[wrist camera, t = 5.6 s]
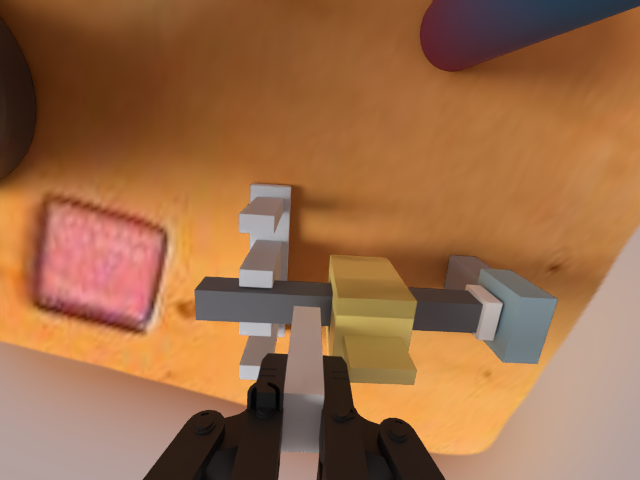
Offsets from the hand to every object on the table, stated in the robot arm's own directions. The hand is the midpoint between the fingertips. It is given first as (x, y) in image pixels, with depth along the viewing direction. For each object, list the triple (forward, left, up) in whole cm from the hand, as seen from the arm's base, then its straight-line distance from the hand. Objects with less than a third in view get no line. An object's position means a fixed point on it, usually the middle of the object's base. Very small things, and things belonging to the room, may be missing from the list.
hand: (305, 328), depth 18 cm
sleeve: (+3, 0, -5) cm, 6 cm away
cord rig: (+4, 0, -9) cm, 10 cm away
